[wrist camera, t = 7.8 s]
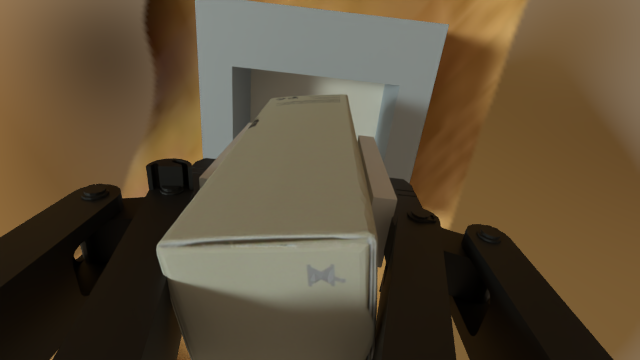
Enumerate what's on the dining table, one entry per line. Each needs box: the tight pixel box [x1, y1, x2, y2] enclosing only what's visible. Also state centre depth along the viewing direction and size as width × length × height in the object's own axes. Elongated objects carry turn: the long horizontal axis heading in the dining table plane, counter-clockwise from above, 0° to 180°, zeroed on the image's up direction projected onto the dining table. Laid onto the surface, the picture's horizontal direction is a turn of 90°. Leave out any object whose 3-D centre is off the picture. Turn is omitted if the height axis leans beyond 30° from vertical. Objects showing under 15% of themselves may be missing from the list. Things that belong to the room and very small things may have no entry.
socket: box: [195, 0, 449, 183], centre depth 23 cm, size 14×14×6 cm
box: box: [156, 94, 378, 360], centre depth 13 cm, size 5×4×13 cm
